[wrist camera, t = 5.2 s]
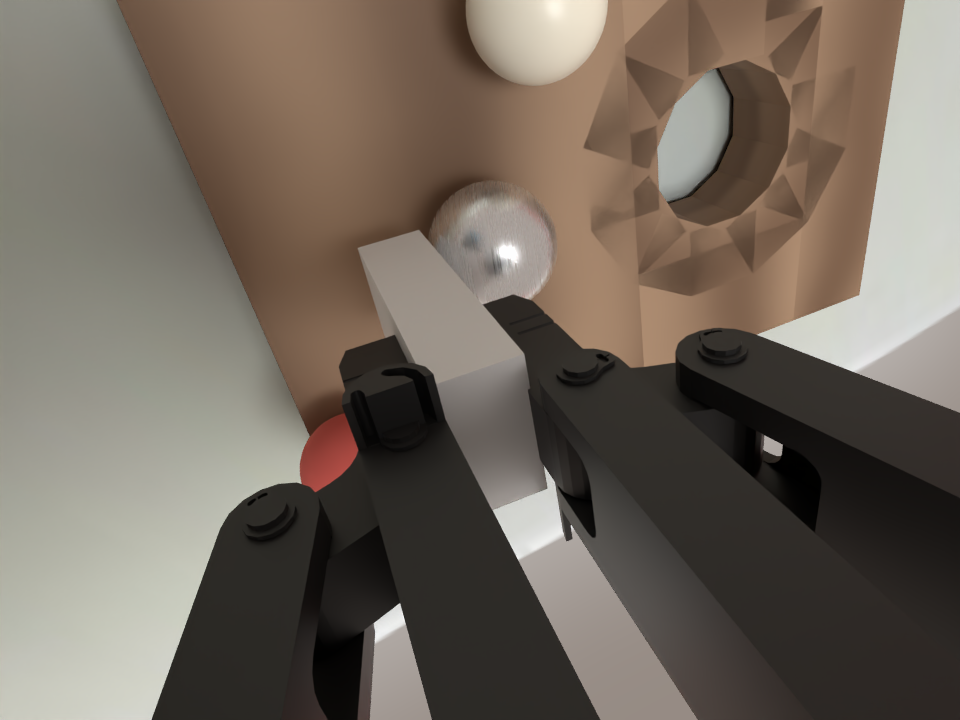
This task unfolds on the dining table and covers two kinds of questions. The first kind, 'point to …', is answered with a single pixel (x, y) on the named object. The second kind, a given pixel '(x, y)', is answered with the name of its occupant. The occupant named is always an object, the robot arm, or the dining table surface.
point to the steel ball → (496, 240)
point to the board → (527, 159)
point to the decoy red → (327, 453)
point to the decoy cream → (535, 36)
